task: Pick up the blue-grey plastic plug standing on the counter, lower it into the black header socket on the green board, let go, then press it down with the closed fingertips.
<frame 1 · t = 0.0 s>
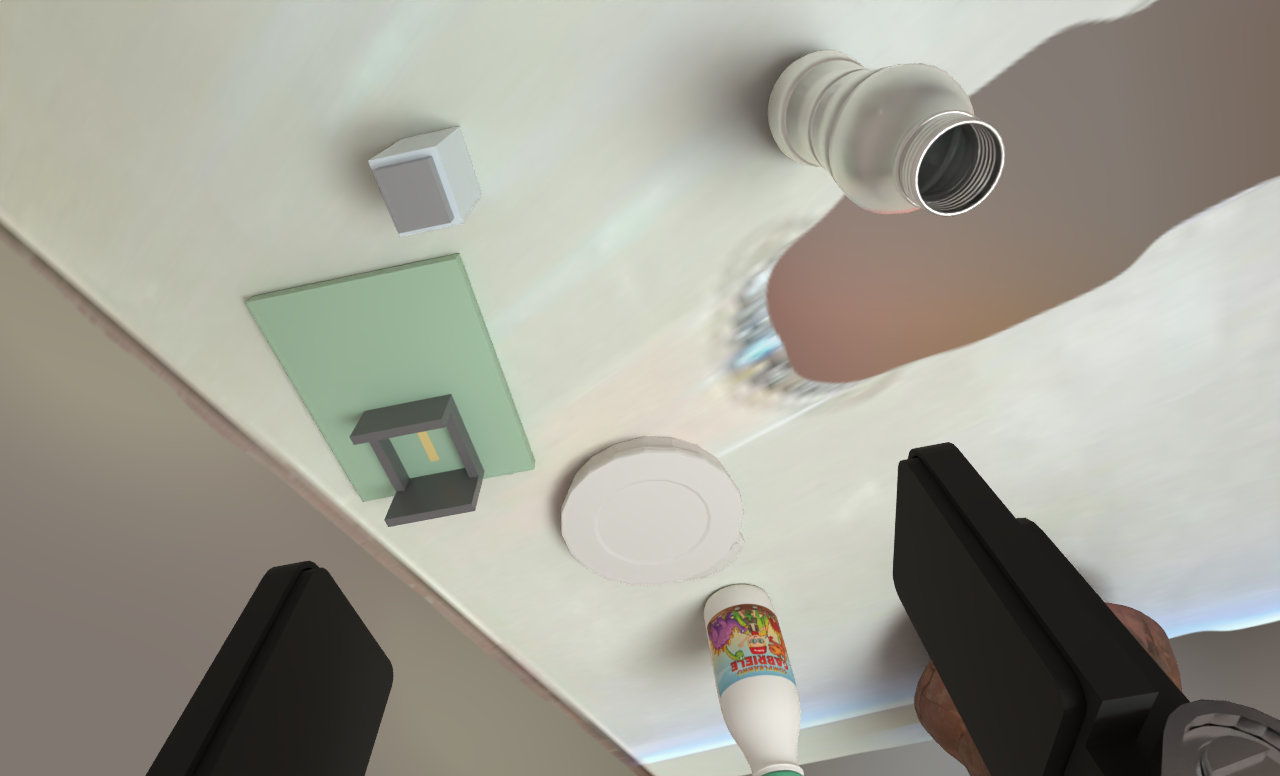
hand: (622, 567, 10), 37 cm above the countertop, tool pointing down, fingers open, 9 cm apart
pottery vessel: (994, 619, 72), on the countertop
plastic bottle: (806, 104, 41), on the countertop
plug: (443, 166, 41), on the countertop
board: (407, 386, 50), on the countertop
milk bottle: (736, 603, 68), on the countertop
lid: (659, 508, 60), on the countertop
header: (426, 442, 52), resting on board
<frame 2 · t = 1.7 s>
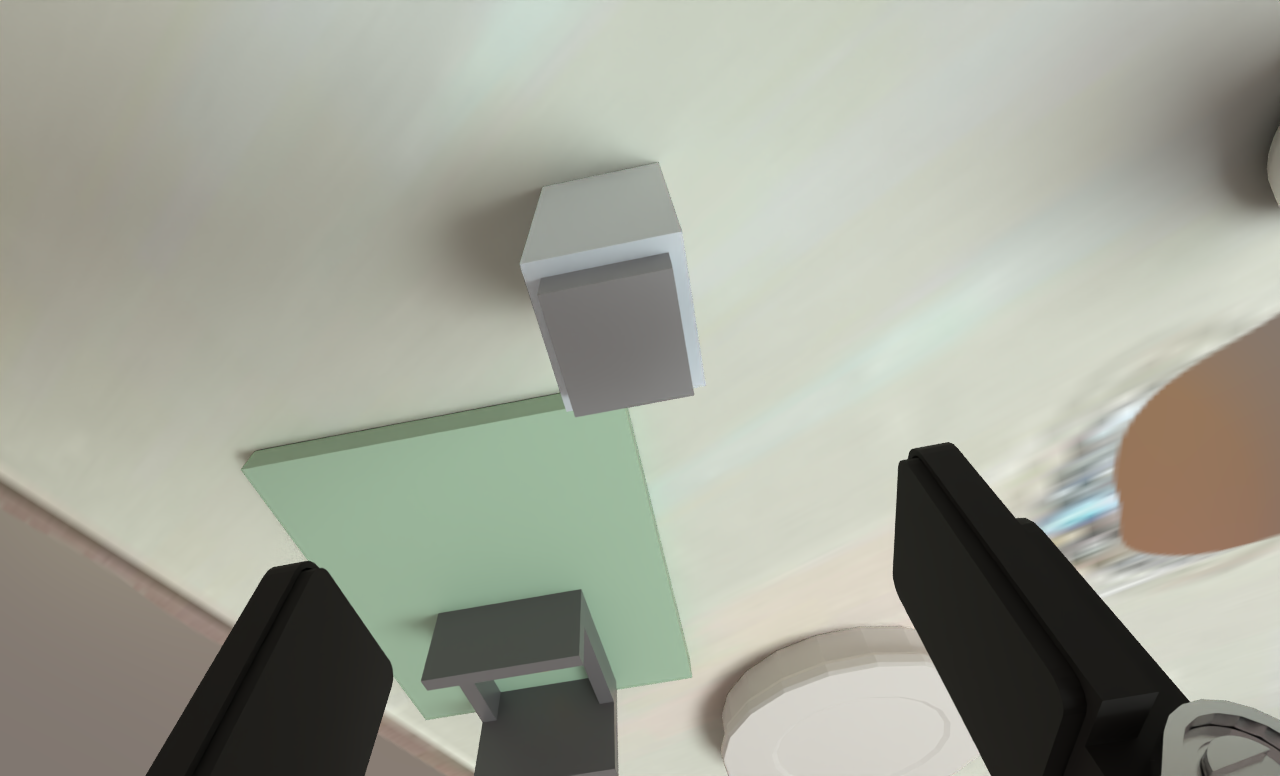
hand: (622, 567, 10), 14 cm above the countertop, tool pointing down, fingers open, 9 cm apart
plug: (614, 238, 22), on the countertop
board: (507, 571, 31), on the countertop
lid: (853, 703, 41), on the countertop
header: (533, 649, 33), resting on board
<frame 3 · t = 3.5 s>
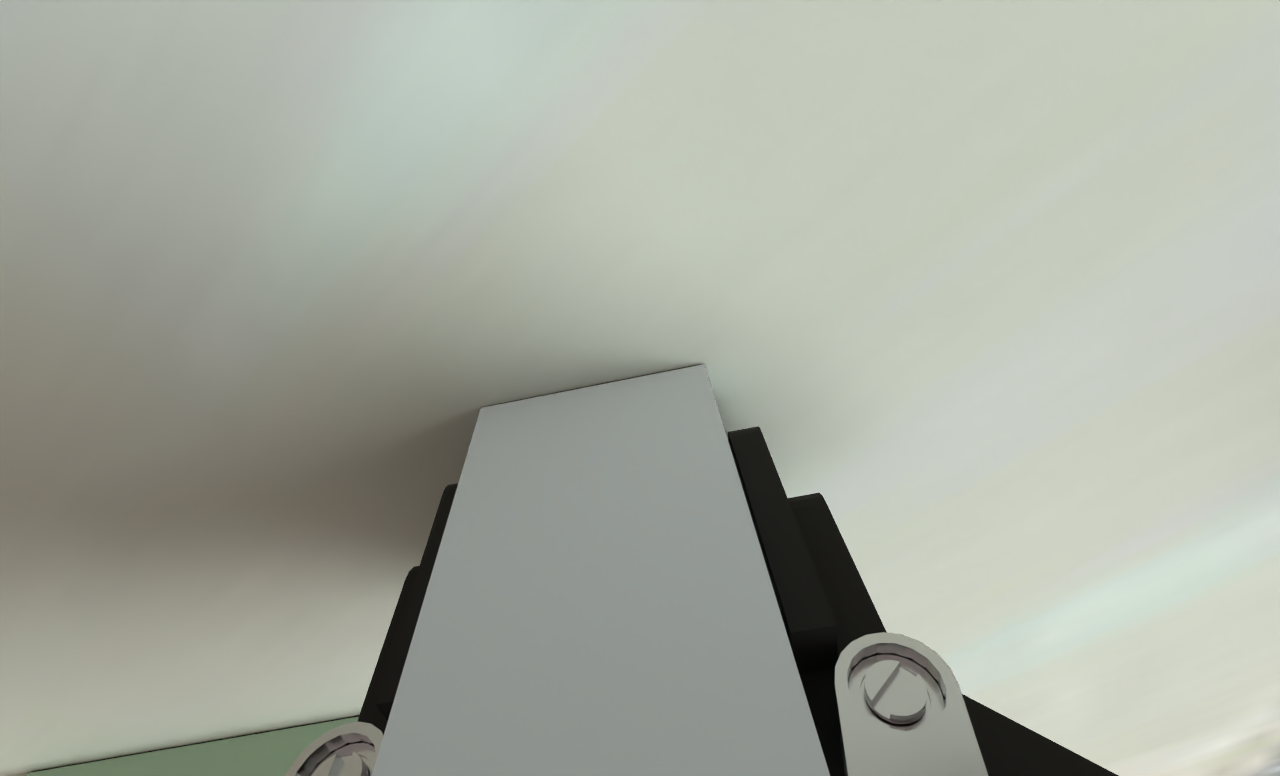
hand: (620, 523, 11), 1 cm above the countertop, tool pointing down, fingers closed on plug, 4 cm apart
plug: (618, 482, 12), on the countertop, touching gripper
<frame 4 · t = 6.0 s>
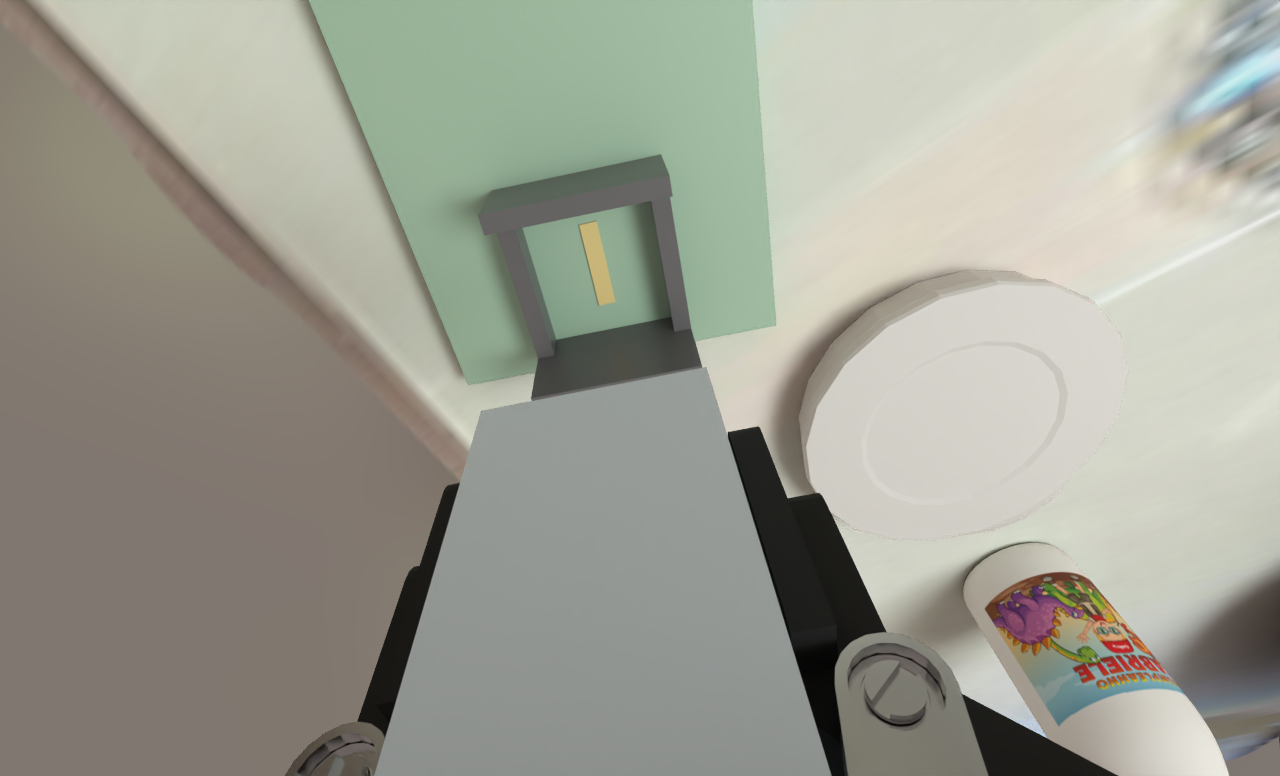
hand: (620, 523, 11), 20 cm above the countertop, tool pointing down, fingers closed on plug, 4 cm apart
plug: (619, 485, 12), point 19 cm above the countertop, touching gripper
board: (572, 147, 26), on the countertop
milk bottle: (1011, 574, 44), on the countertop
lid: (945, 411, 36), on the countertop
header: (597, 264, 28), resting on board
when the fingers open (3 cm above the countertop, at t = 8.8 s): plug stays where it is, resting on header.
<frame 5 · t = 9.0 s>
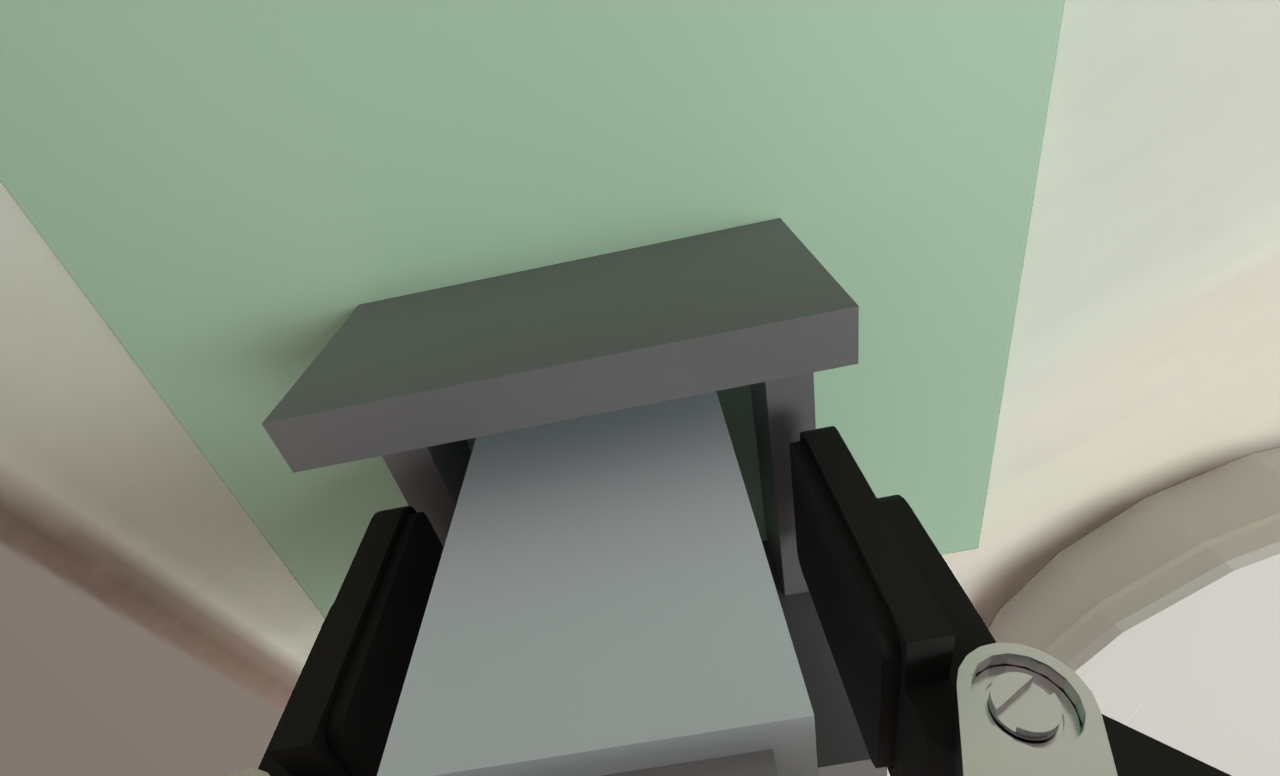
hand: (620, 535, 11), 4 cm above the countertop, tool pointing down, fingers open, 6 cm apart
plug: (620, 454, 12), point 1 cm above the countertop, touching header
board: (557, 197, 11), on the countertop
lid: (1217, 639, 21), on the countertop
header: (616, 451, 13), resting on board
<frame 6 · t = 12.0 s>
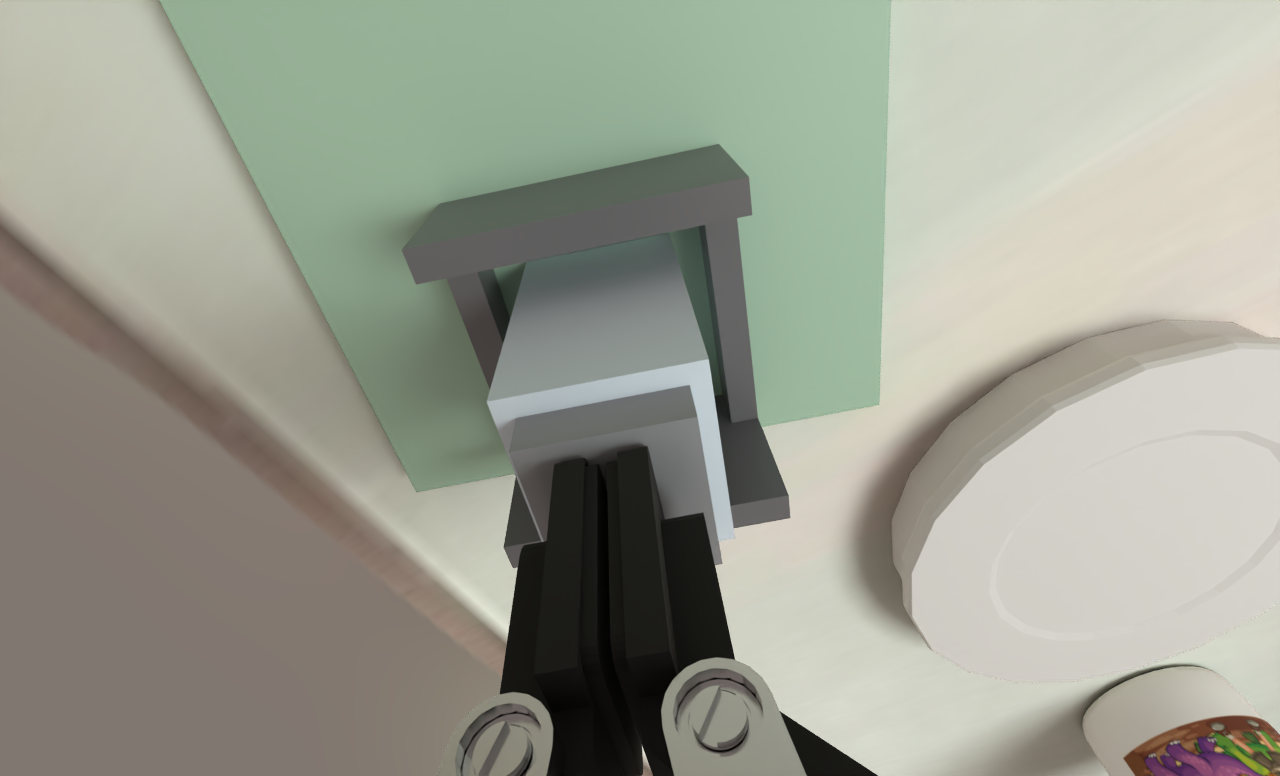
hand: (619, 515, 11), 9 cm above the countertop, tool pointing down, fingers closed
plug: (614, 320, 18), point 1 cm above the countertop, touching gripper, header
board: (571, 133, 16), on the countertop
milk bottle: (1145, 699, 34), on the countertop
lid: (1091, 508, 26), on the countertop
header: (612, 318, 18), resting on board
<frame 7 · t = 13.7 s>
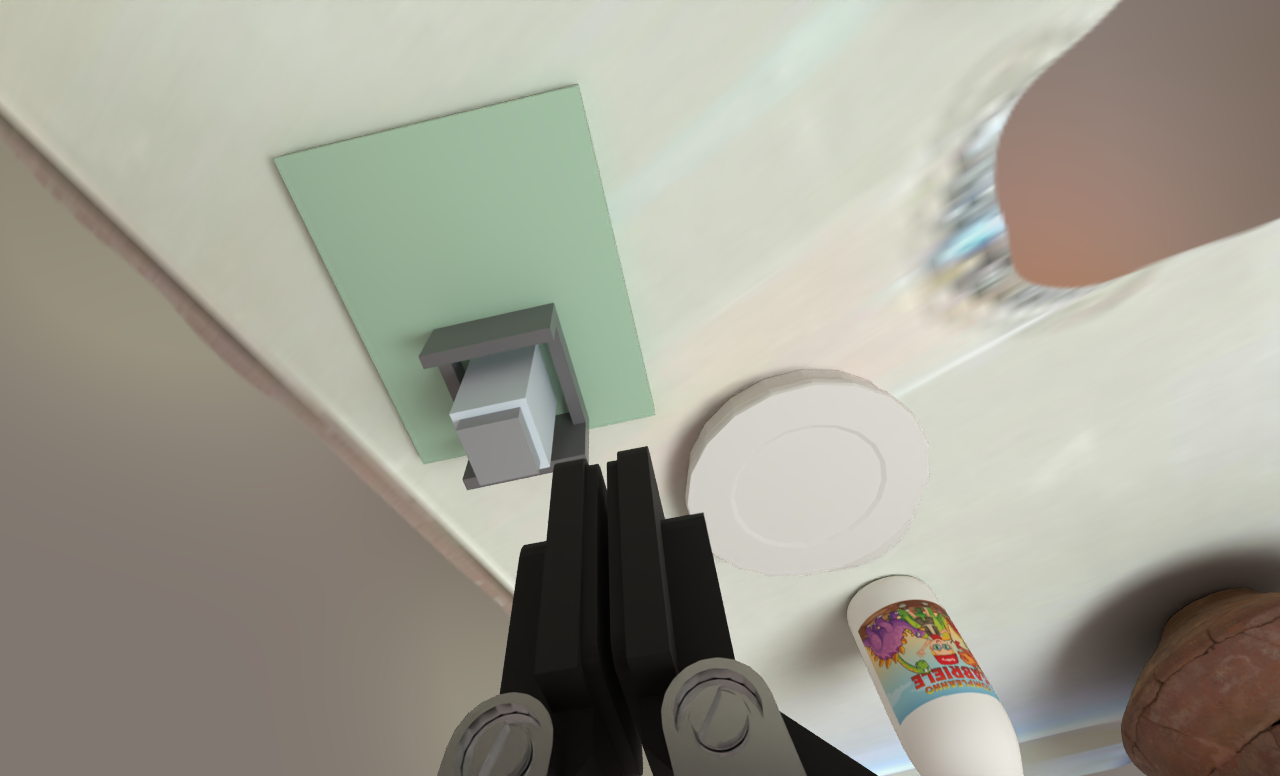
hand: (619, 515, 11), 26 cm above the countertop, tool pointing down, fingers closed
pottery vessel: (1203, 618, 57), on the countertop
plug: (516, 377, 38), point 1 cm above the countertop, touching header
board: (492, 296, 36), on the countertop
milk bottle: (886, 601, 53), on the countertop
lid: (805, 472, 45), on the countertop
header: (515, 376, 38), resting on board
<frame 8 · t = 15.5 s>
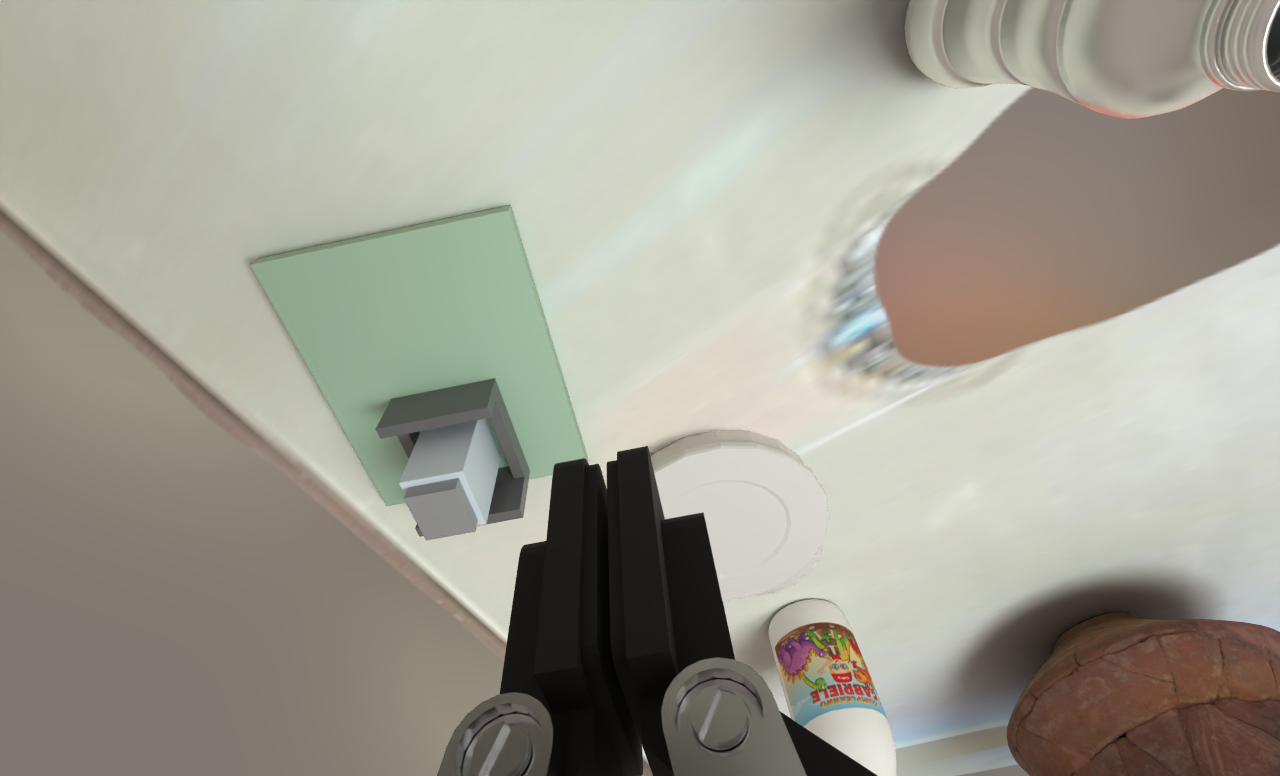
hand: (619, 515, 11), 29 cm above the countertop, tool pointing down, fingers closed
pottery vessel: (1090, 636, 64), on the countertop
plastic bottle: (948, 14, 33), on the countertop
plug: (464, 437, 44), point 1 cm above the countertop, touching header
board: (442, 369, 42), on the countertop
milk bottle: (804, 620, 60), on the countertop
lid: (726, 513, 52), on the countertop
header: (463, 436, 44), resting on board
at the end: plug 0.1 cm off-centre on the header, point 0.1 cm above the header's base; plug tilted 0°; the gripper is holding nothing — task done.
